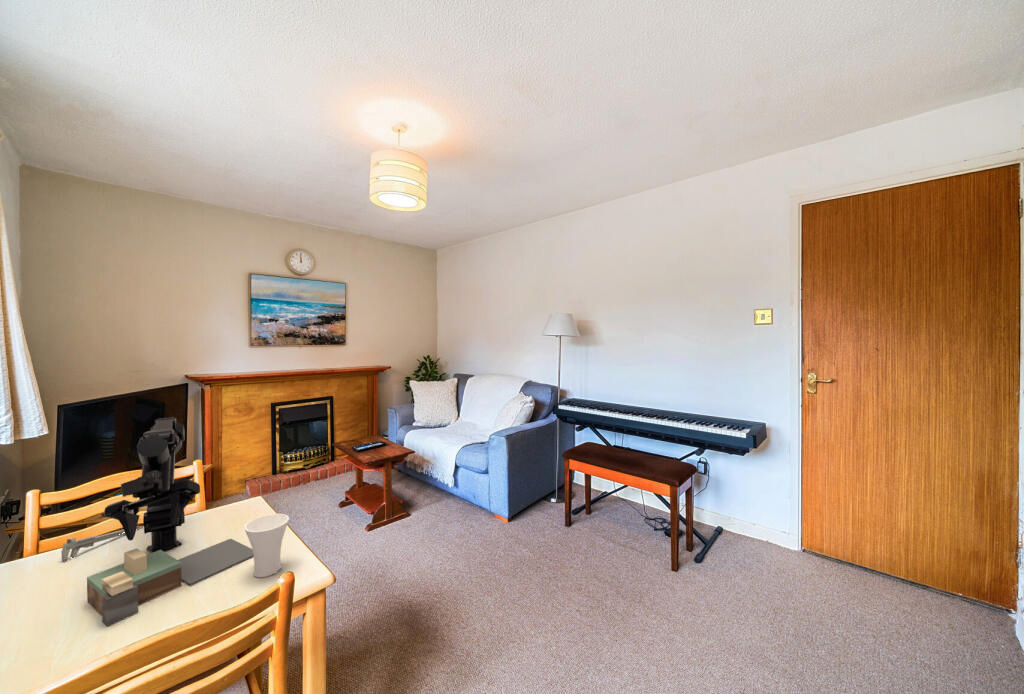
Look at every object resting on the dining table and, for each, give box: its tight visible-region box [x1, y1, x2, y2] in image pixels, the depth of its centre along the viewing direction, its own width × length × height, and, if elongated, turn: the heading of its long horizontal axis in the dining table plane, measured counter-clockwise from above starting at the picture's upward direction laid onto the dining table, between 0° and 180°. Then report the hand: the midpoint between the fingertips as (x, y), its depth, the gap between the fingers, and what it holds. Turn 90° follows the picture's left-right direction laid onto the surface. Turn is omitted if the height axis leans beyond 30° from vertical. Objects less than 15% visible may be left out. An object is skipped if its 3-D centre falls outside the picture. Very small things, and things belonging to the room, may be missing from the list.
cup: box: [243, 513, 290, 578], centre depth 107 cm, size 10×10×14 cm
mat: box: [177, 538, 254, 587], centre depth 112 cm, size 16×17×1 cm
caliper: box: [61, 525, 144, 562], centre depth 121 cm, size 20×1×6 cm, turn 171°
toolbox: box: [86, 567, 183, 627], centre depth 96 cm, size 15×15×6 cm
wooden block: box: [102, 571, 133, 596], centre depth 90 cm, size 6×4×2 cm, turn 61°
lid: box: [86, 548, 181, 595], centre depth 97 cm, size 12×14×5 cm
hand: (151, 532), depth 98 cm, fingers open, 9 cm apart
